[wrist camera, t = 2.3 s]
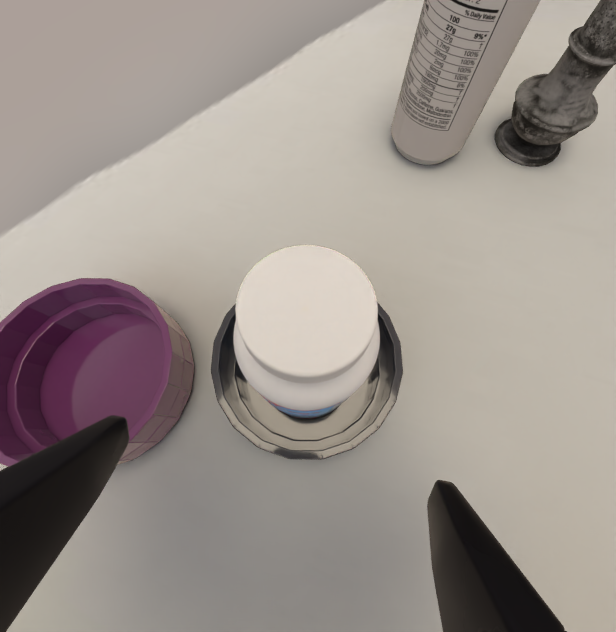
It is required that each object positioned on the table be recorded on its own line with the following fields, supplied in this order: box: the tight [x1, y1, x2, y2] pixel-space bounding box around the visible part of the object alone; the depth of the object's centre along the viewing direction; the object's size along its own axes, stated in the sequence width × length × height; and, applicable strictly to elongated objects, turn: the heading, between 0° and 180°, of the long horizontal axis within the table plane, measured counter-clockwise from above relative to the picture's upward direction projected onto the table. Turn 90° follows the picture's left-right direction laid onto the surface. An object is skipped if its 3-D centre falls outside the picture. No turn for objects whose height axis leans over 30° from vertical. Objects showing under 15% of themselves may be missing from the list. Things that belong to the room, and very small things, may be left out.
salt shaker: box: [495, 0, 616, 166], centre depth 22 cm, size 6×6×12 cm
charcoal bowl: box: [211, 303, 403, 459], centre depth 20 cm, size 10×10×4 cm
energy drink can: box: [391, 0, 540, 165], centre depth 21 cm, size 6×6×15 cm
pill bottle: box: [233, 245, 380, 419], centre depth 16 cm, size 6×6×11 cm
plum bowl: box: [0, 278, 194, 467], centre depth 20 cm, size 10×10×4 cm
